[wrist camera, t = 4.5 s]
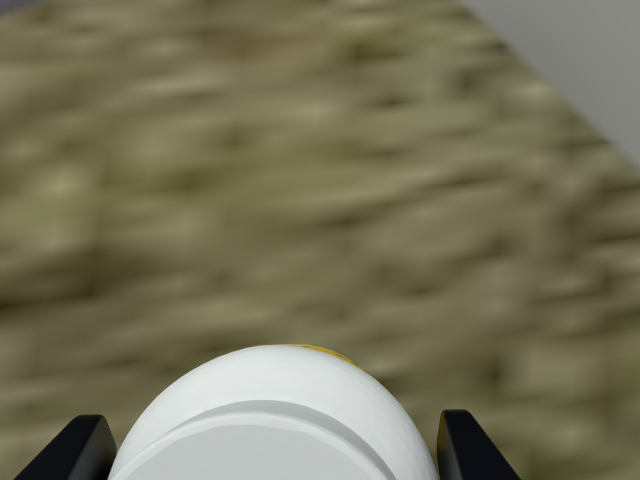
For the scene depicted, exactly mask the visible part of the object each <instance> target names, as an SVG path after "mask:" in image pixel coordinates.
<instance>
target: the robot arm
mask: <svg viewBox="0 0 640 480" xmlns="http://www.w3.org/2000/svg"><path fill="white" fill-rule="evenodd" d="M116 455H117V448H116V443H115V441H114V438H113V435H112V433H111V430H110V428H109V425H108V423H107V420H106V418H105V417H104V416H102V415H99V414H95V415H79V416H77V417H75V418H74V419H73V420H72V421H71V422H70V423H69V424H68V425H67V426H66V427H65V428H64V429H63V430H62V431H61V432H60V433H59V434H58V435H57V436H56V437H55V438H54V439H53V440H52V441H51V442H50V443H49V444H48V445H47V446H46V447H45V448H44V449H43V450H42V451H41V452H40V453H39V454H38V455H37V456H36V457H35V458H34V459H33V460H32V461H31V462H30V463H29V464H28V465H27V466H26V467H25V468H24V469H23V470H22V471H21V472H20V473H19V474H18V475H17V476H16V477H15V478H14V480H107V479H108V476H109V474H110V471H111V468H112V465H113V463H114V460H115V458H116ZM437 458H438V466H439V474H440V480H521V479H520V478H519V476H518V475H517V474H516V472H515V471H514V470H513V468H512V467H511V466H510V464H509V463H508V462H507V461H506V459H505V458H504V457H503V455H502V454H501V453H500V451H499V450H498V449H497V447H496V446H495V445H494V443H493V442H492V441H491V439H490V438H489V437H488V436H487V434H486V433H485V432H484V430H483V429H482V428H481V426H480V425H479V424H478V422H477V421H476V420H475V418H474V417H473V416H472V415H471V413H470V412H469V411H467V410H464V409H451V410H444V411H442V413H441V416H440V423H439V429H438V436H437Z"/></svg>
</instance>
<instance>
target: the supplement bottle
mask: <svg viewBox="0 0 640 480" xmlns="http://www.w3.org/2000/svg"><path fill="white" fill-rule="evenodd" d="M107 480H439V479H438V475H437V471H436V468H435V465H434V463H433V460H432V458H431V455H430V453H429V451H428V448H427V446H426V444H425V442H424V440H423V438H422V436H421V434H420V433H419V431H418V429H417V428H416V426H415V424H414V423H413V421H412V420H411V418H410V417H409V415H408V414H407V413H406V411H405V410H404V409H403V407H402V406H401V404H400V403H399V402H398V401H397V400H396V399H395V398H394V397H393V396H392V395H391V394H390V392H389V391H388V390H387V389H386V388H385V387H384V386H382V385H381V384H380V383H379V382H378V381H377V380H376V379H374V378H373V377H372V376H371V375H369V374H368V373H367V372H366V371H364V370H363V369H362V368H361V367H360V366H358V365H357V364H356V363H354V362H353V361H351V360H349V359H348V358H346V357H344V356H343V355H341V354H339V353H336V352H334V351H331V350H328V349H325V348H322V347H317V346H312V345H306V344H279V345H261V346H255V347H249V348H245V349H241V350H238V351H234V352H231V353H229V354H226V355H223V356H220V357H218V358H215V359H213V360H211V361H209V362H207V363H205V364H203V365H201V366H199V367H197V368H195V369H194V370H192V371H190V372H189V373H187V374H185V375H184V376H182V377H181V378H179V379H178V380H177V381H175V382H174V383H173V384H172V385H170V386H169V387H168V388H166V389H165V390H164V391H163V392H162V393H161V394H160V395H158V396H157V397H156V398H155V400H154V401H153V402H152V403H151V404H150V405H149V406H148V407H147V409H146V410H145V411H144V412H143V413H142V415H141V416H140V417H139V419H138V420H137V421H136V423H135V424H134V426H133V427H132V429H131V430H130V432H129V433H128V435H127V436H126V438H125V440H124V442H123V444H122V446H121V447H120V449H119V451H118V454H117V456H116V458H115V460H114V463H113V465H112V468H111V471H110V474H109V476H108V479H107Z"/></svg>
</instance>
